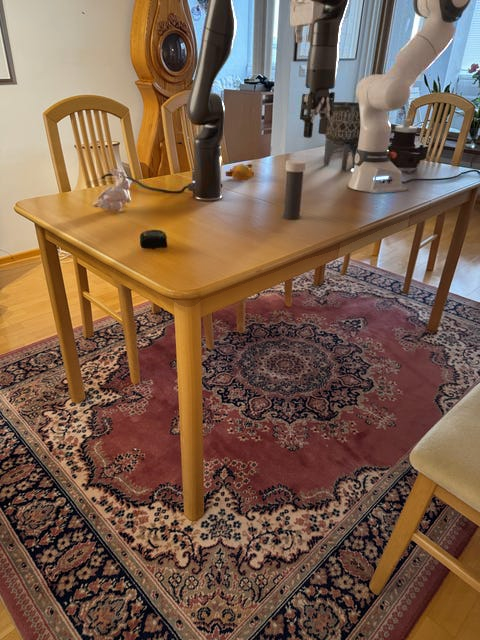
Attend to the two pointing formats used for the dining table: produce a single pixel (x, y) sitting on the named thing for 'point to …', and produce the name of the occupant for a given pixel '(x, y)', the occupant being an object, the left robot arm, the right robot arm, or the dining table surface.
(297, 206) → the jar
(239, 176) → the toy
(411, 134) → the mechanical component
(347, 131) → the planter
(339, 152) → the rock
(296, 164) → the lid
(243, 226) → the dining table surface
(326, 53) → the left robot arm
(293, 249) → the dining table surface
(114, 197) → the figurine
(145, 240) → the tape measure
